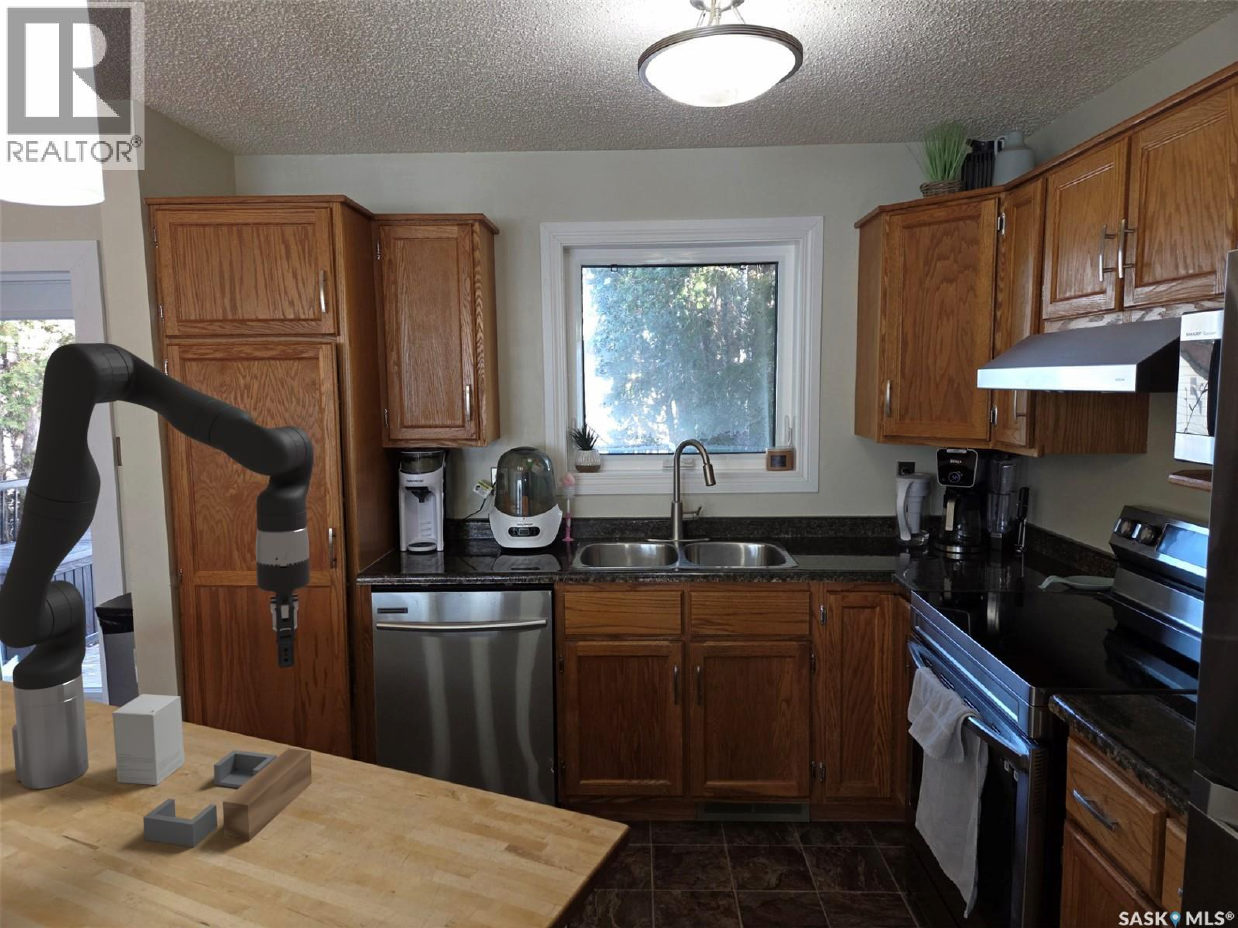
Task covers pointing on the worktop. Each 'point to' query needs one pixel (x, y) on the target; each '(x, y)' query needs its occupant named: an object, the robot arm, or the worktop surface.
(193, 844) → the endcap
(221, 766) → the endcap
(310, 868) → the worktop surface
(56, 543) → the robot arm
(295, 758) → the brown wooden bar
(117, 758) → the supplement box
